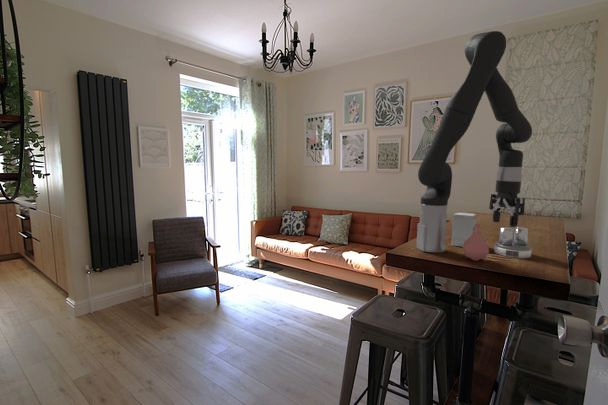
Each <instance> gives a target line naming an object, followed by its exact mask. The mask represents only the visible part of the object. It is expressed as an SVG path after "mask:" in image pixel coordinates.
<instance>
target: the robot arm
mask: <svg viewBox="0 0 608 405" xmlns="http://www.w3.org/2000/svg"><path fill="white" fill-rule="evenodd" d="M506 48H507V38H506V35H505V34H504V33H503V32H502V31H498V30H494V31H485V32H480V33H477V34H474V35H473V36H471V37H470V38H469V39H468V40H467V42H466V45H465V47H464V55H465V58H466V60H467V62H468V64H469V65H470V68H469V70H468V73H467V75H466V77H465V78H464V80H463V81H462V83H461V84H460V86H459V87H458V88H457V90H456V91H455V92H454V93H453V95H452V96H451V98H450V99H449V100H448V102H447V104H446V106H445V109H444V111H443V114H442V116H441V120H440V123H439V125H438V127H437V129H436V132H435V134H434V137H433V138H432V139H433V140H432V142H431V144H430V146H429V149H428V151H427V152H426V155H425V156H424V158H423V159H422V162H421V164H420V166H419V168H418V171H417V172H418V173H417V177H418V181H419V182H420V184H422V185H423V186H425V187H426V191H425V193H424V194H423V195H422V196H420V208H419V209H420V212H419V213H420V214H419V222H418V223H417V226H416V227H417V228H416V234H417V235H416V249H418V250H420V251H421V252H427V253H444V252H446V240H447V239H446V238H447V218H448V216H447V215H448V205H449V204H448V203H449V202H448V201H449V199H450V197H451V192H452V183H453V182H452V181H453V170H452V168H451V165H450V164H449V163H448V162H447V159H448V157H449V155H450V153H451V152H452V150H453V148H454V147H455V146H456V144H457V143H458V142H459V141H460V140H461V139H462V138H463V137H464V135H465V134H466V132H467V131H468V130H469V127H470V125H471V123H472V120H473V118H474V117H475V114H476V111H477V109H478V106H479V105H480V104H479V103H480V102H481V100H482V97H483V95H484V93H485V95H486V97H487V99H488V103H489V105H490V107H491V110H492V113H493V116H494V118H495V120H496V121H497V122H499V123H503V124H501V125H499V126H498V128H497V129H496V133H495V139H496V144H497V148H498V153H499V154H498V155H499V158H498V160H499V161H498V168H497V172H496V180H495V181H496V182H495V193H492V194H490V199H489V200H490V201H489V210H491V211H492V213H493V214H492V222H493V223H500V219H501V211H502V210H503V209H506V210H507V211H508V212H509V214H510V218H509V227H510V228H515V227H518V221H519V216H524V215H525V205H526V204H525V202H526V199H525V198H524V197H518V194H520V193H521V187H522V186H521V185H522V177H523V168H522V167H523V160H524V153H523V151H522V150H519V149H514V148H513V146H512V144H520V143H525V142H528V141H529V140H530V139H531V138H532V134H533V129H532V125H531V123H530V122H529V120H528V119H527V118H526V117H525V115H524V114H523V113H522V111H521V110H520V109H519V107H518V104H517V103H518V102H517V100H516V98H515V95H514V92H513V91H512V90H513V89H511V87H510V85H509V84H508V83H507V81H506V80H505V79H504V77H503V76H502V75H501V73H500V71H499V69H498V65H499V63H500V62H501V61H502V58H503V56H504V54H505V52H506Z"/></svg>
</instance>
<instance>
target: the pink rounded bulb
mask: <svg viewBox="0 0 608 405" xmlns="http://www.w3.org/2000/svg"><path fill="white" fill-rule="evenodd" d="M480 226H481V225H480V224H478V223H476V224H475V227H474V232H473V234H472V235H471V237H470V238H468V239H467V240H466V241H465V242H464V245H463V247H462V251H463V255H464V256H465V257H467V258H469V259H470V260H471V261H475V262H478V261H479V260H483V259H486V258H487V256H488V254H489V252H490V250H489V244H488V243H487V241H486V240H485V239H484V238H483V236H482V234H481V232H480V229H481V227H480Z"/></svg>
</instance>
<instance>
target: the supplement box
mask: <svg viewBox="0 0 608 405" xmlns="http://www.w3.org/2000/svg"><path fill="white" fill-rule="evenodd" d="M475 224H477V214H476V213H468V212H467V213H466V212H456V213H454V214H453V215H452V226H451V227H452V229H451V246H456V247H461V248H463V245H464V242H465V241H466V240H467V239H468V238H470V237H471V235H472V234H473V232H474V227H475Z"/></svg>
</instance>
